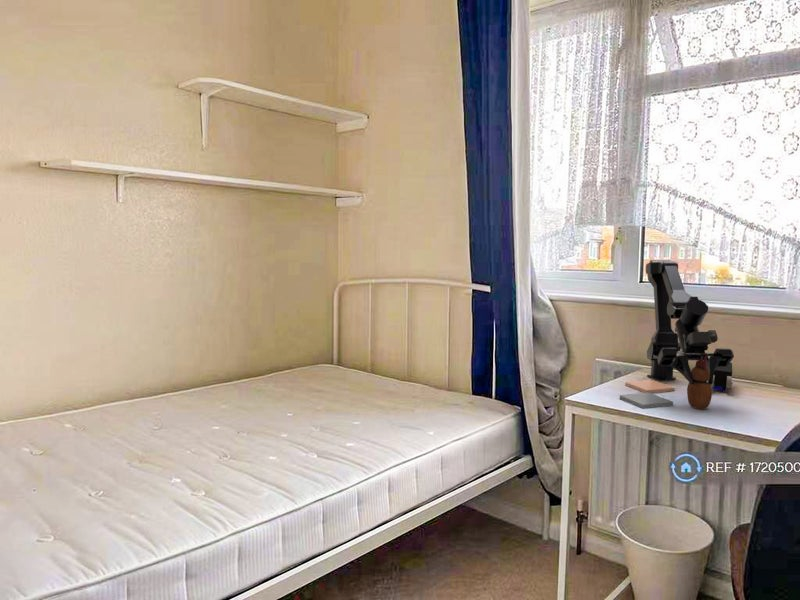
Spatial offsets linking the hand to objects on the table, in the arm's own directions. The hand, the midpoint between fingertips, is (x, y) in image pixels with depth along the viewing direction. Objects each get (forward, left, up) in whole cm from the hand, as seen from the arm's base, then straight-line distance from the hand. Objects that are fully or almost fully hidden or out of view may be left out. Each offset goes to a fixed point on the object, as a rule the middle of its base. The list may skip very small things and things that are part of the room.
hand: (701, 383), depth 163 cm
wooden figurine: (-1, +1, -7) cm, 7 cm away
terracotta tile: (-22, +2, -7) cm, 23 cm away
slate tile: (-10, -9, -7) cm, 16 cm away
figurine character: (-15, +22, -7) cm, 27 cm away
